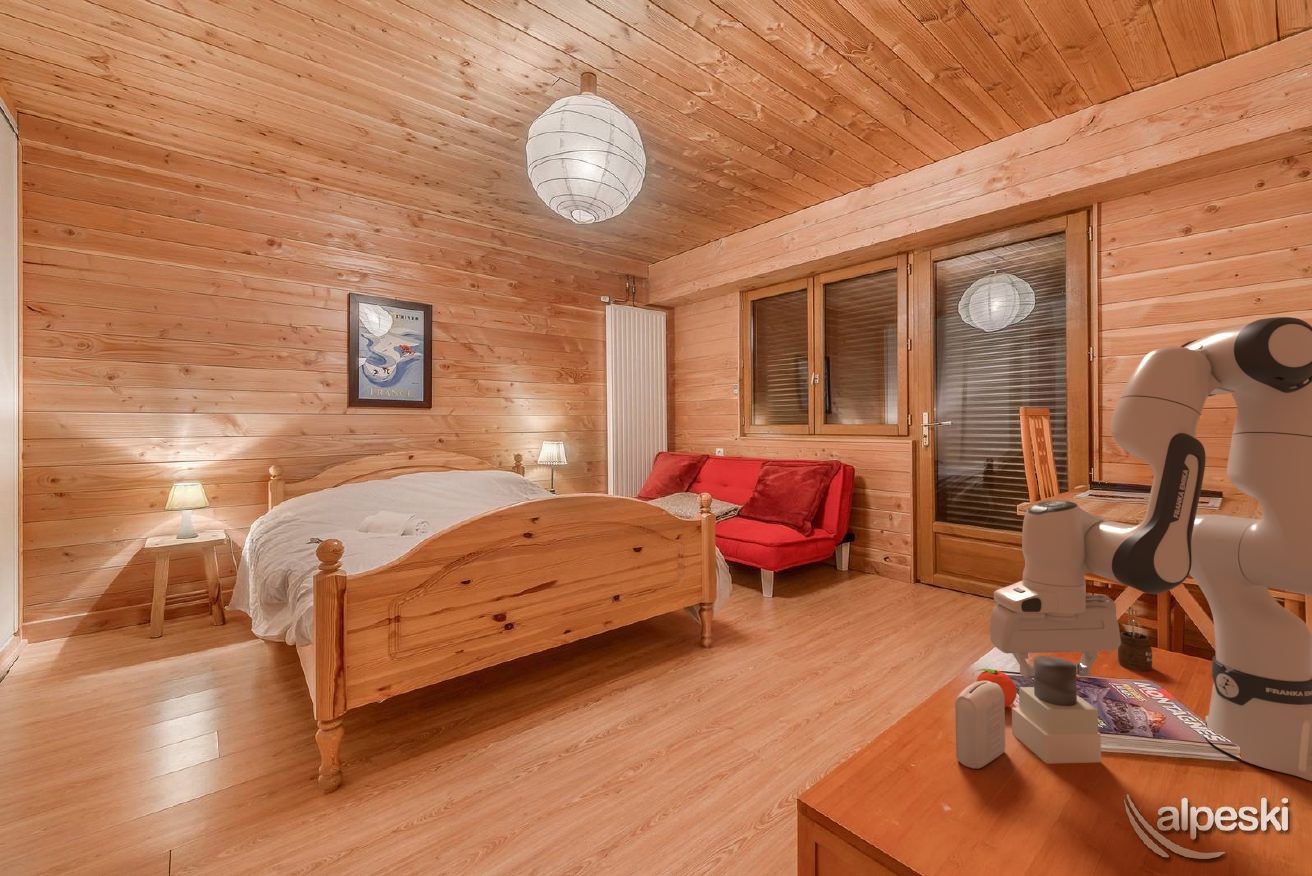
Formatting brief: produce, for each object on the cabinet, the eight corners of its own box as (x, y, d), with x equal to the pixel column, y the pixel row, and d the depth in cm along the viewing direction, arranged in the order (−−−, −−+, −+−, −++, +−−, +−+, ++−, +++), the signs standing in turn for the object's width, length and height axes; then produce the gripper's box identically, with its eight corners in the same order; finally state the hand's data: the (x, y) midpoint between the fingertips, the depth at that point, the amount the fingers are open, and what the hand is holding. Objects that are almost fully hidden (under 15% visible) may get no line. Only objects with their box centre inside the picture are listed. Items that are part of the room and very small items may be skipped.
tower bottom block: (1062, 733, 101) (1061, 706, 101) (1101, 763, 92) (1100, 733, 92) (1012, 734, 101) (1011, 707, 101) (1046, 764, 92) (1045, 735, 92)
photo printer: (983, 740, 100) (982, 671, 99) (1009, 751, 96) (1008, 680, 96) (952, 761, 94) (950, 688, 94) (978, 773, 90) (976, 698, 90)
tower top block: (1065, 709, 100) (1065, 687, 100) (1098, 733, 92) (1097, 709, 92) (1019, 709, 101) (1019, 687, 101) (1048, 733, 93) (1047, 709, 93)
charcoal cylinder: (1059, 688, 100) (1059, 655, 100) (1085, 705, 94) (1085, 670, 94) (1026, 689, 100) (1025, 656, 100) (1050, 706, 94) (1049, 671, 94)
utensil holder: (1119, 668, 126) (1118, 615, 126) (1116, 658, 131) (1115, 607, 131) (1154, 674, 123) (1153, 619, 122) (1149, 663, 128) (1149, 611, 128)
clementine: (964, 703, 113) (964, 668, 113) (978, 692, 117) (978, 658, 117) (1009, 718, 107) (1008, 681, 106) (1022, 706, 111) (1021, 670, 111)
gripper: (1100, 589, 99) (1101, 666, 99) (984, 592, 100) (985, 669, 100) (1130, 600, 93) (1131, 682, 93) (1005, 603, 93) (1007, 685, 94)
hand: (1055, 675), depth 97 cm, fingers open, 8 cm apart
